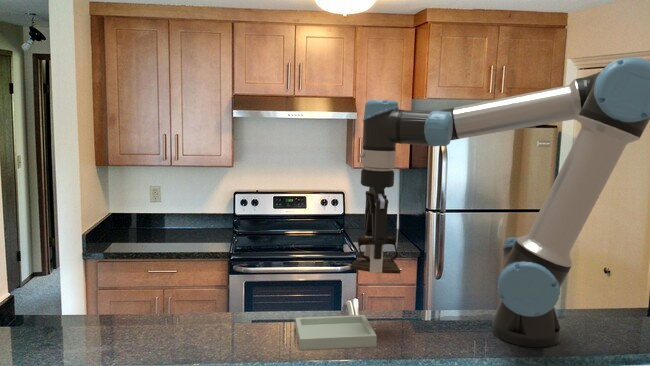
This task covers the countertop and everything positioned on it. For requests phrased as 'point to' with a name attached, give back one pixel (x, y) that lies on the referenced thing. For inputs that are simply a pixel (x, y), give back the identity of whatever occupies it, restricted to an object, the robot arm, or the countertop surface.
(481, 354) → the countertop surface
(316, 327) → the iron rest
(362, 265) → the clothes iron
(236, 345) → the countertop surface
